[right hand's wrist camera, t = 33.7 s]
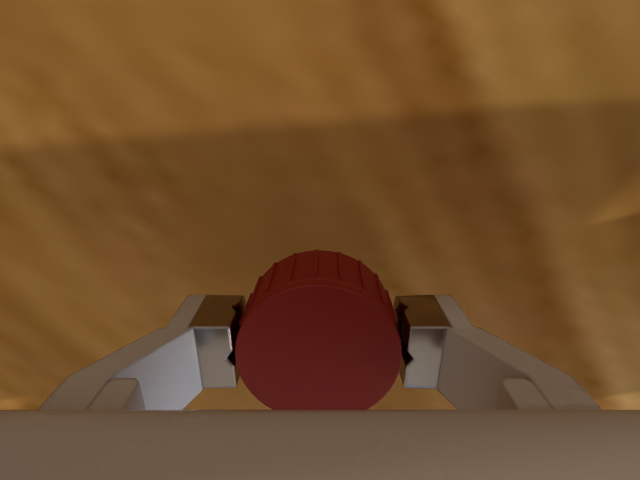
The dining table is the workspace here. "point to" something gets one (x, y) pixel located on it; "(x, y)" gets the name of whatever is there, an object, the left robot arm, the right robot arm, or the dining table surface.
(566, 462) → the right robot arm
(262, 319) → the cap
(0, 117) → the dining table surface
